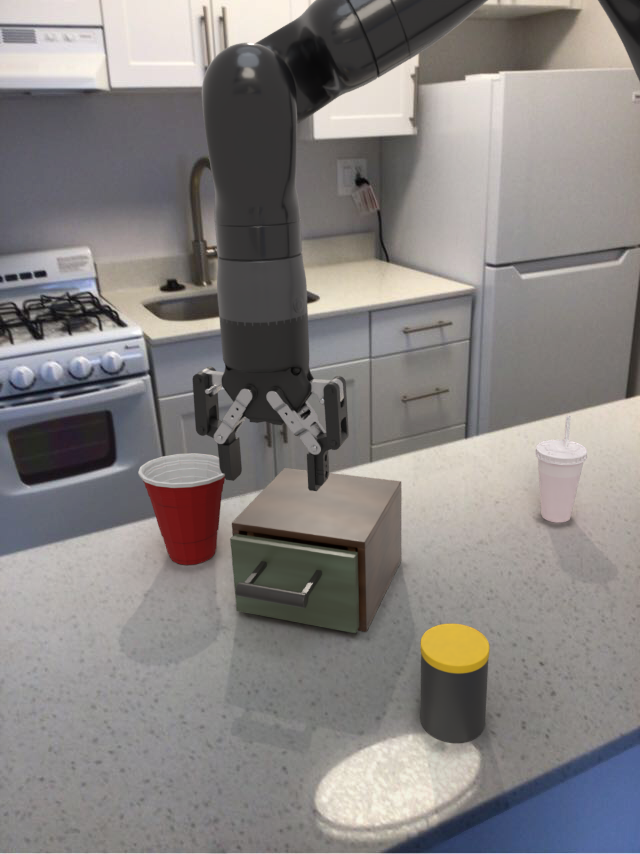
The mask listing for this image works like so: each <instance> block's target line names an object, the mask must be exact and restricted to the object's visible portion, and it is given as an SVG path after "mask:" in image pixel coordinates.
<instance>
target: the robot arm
mask: <svg viewBox="0 0 640 854" xmlns="http://www.w3.org/2000/svg"><path fill="white" fill-rule="evenodd" d="M488 1H489V0H314V1H313V2H312V3H311V4H309V6H308V7H307V8H306V9H305V11H304V12H303V13H302V14H300V15H299V16H298V17H297V18H296V19H294V20H292V21H290V22H289V23H287V24H285V25H283V26H281V27H280V28H279V29H277V30H275V31H273V32H272V33H269V34H268V35H267V36H265V37H263V38H261V39H260V40H258V41H257V42H239V43H234V44H232V45H230V46H228V47H226V48H224V49H222V50H221V51H219V53H218V54H216V56H215V57H214V58H213V59H212V60H211V62H210V63H209V64H208V66H207V68H206V71H205V73H204V76H203V79H202V86H201V106H202V118H203V126H204V133H205V142H206V147H207V153H208V160H209V166H210V172H211V177H212V182H213V189H214V197H213V198H214V204H213V205H214V209H213V215H214V217H213V219H214V227H215V228H214V230H215V241H216V242H215V243H216V254H217V272H216V273H217V275H216V294H217V297H216V304H217V308H218V317H219V329H220V342H221V354H222V362H223V363H224V371H219V370H217V369H216V368H214V367H213V366H207V367H205V368H203V369H201V370H200V371H198V372H197V373H195V374H194V375H193V376H192V393H193V394H192V395H193V410H194V423H195V432H196V433H197V434H198V435H199V436H202V437H205V436H208V437H210V438H212V439H213V440H214V441H215V443H216V444H217V454H218V455H217V456H218V457H219V466H220V470H221V472H222V474H225V481H230V482H231V481H232V482H234V481H235V480H237V479H238V478H239V476H241V474H242V471H243V465H242V453H241V442H240V441H241V440H240V437H239V436H236V434H237V432H238V431H239V429H240V428H241V427H242V425H243V424H244V422H245V420H246V419H248V420H249V423H256V424H259V423H269V424H271V425H275V426H283V425H284V424H285V425H286V426H287V428H288V429H289V430H290V432H291V434H293V436H296V437H298V438H299V439H300V441H301V442H302V443H303V445H304V446H305V448H306V450H307V451H308V452H307V453H306V470H307V473H308V489H309V490H310V491H318V489H319V488H320V487H321V486H322V485H323V484H324V483H325V482H326V480H327V479H328V476H329V473H330V465H329V464H330V461H329V460H330V458H329V451H330V450H332V451H337V450H339V449H340V447H341V446H342V445H343V444H344V443H345V442H346V441H347V439H348V438H349V435H350V433H349V431H350V430H349V417H348V416H349V414H348V399H347V397H348V396H347V382H346V379H345V378H344V377H343V376H341V375H336V376H335V377H333V378H332V379H321V378H320V379H319V378H315V377H314V376H313V374H312V372H311V370H310V340H309V339H310V338H309V337H310V335H309V310H308V309H309V308H308V287H307V277H306V276H307V275H306V271H305V265H304V259H303V253H302V252H303V240H302V239H303V238H302V237H303V236H302V220H301V218H302V216H301V206H300V199H299V193H298V187H297V165H298V164H297V163H298V162H297V160H298V125H299V124H300V123H301V122H304V121H306V119H308V118H309V117H311V116H312V115H314V114H316V113H317V112H318V111H320V110H321V109H323V108H324V107H326V106H327V105H329V104H330V103H332V102H333V101H335V100H336V99H337V98H340V97H341V96H343V95H345V94H347V93H349V92H352V91H355V90H357V89H359V88H362V87H364V86H366V85H369V84H370V83H372V82H374V81H376V80H377V79H378V78H381V77H383V76H384V75H386V74H387V73H389V72H391V71H393V70H394V69H396V68H397V67H399V66H402V64H404V63H406V62H408V61H409V60H411V59H412V58H414V57H416V56H418V55H419V54H421V53H422V52H424V51H425V50H427V49H428V48H430V47H431V46H433V45H435V44H436V43H438V41H440V40H441V39H443V38H444V37H446V36H447V35H448V34H450V33H451V32H452V31H453V30H454V29H456V28H457V27H459V26H460V25H461V24H462V23H464V21H466V20H467V19H468V18H469V17H471V16H472V15H473V14H474V13H475V12H476V11H477V10H479V9H480V8H481V7H482V6H483V5H484V4H486V3H487V2H488ZM597 1H598V3H599V5H600V6H601V8H602V10H603V11H604V13H605V14H606V16H607V18H608V20H609V21H610V23H611V24H612V26H613V28H614V29H615V32H616V34H617V36H618V37H619V39H620V41H621V43H622V45H623V47H624V49H625V52H626V54H627V56H628V58H629V60H630V63H631V66H632V68H633V71H634V72H635V75H636V77H637V80H638V82H639V83H640V0H597ZM222 388H223V390H224V391H225V392H226V394H227V395H228V396H229V398H230V399H231V401H232V402H233V403H232V405H230V407H229V408H228V410H227V412H226V414H225V415H224V417H223V418H222V419H220V407H219V392H221V390H222ZM312 394H314V395H315V396H317V400H318V402H319V404H320V405H322V406H324V419H325V420H324V421H325V428H324V426H323V425H322V424H321V422H320V421H319V416H318V414H317V412H316V411H315V409H314V408H313V406H312V405H311V404H310V402H309V401H308V399H309V398H310V397H311V395H312Z"/></svg>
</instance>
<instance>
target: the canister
mask: <svg viewBox="0 0 640 854" xmlns="http://www.w3.org/2000/svg"><path fill="white" fill-rule="evenodd" d="M489 642H490V641H488V639H487V637H486V636H485V635H484V634H483V633H482V632H480V631H479V630H477V629H476V628H474V627H471V626H469V625H466V624H461V623H453V622H451V623H441V624H437V625H435V626H432V627H430V628H429V629H427V630H426V631H425V632H424V633H423V634H422V636H421V638H420V647H419V648H420V689H419V690H420V695H419V699H420V701H419V703H420V704H419V706H420V707H419V719H420V720H419V721H420V723H421V725H422V728H423V729H424V730H425V731H426V733H428V734H429V735H430V736H431V737H433V738H434V739H437V740H439V741H441V742H445V743H450V744H462V743H463V744H464V743H468V742H471V741H473V740H475V739H476V738H478V737H480V736H481V734H482V733H483V732H484V729H485V727H486V717H487V716H486V713H487V697H488V696H487V695H488V678H489V677H488V675H489V660H490V659H489V658H490V651H491V650H490V647H491V645H490V643H489Z"/></svg>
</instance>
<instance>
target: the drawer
mask: <svg viewBox="0 0 640 854" xmlns="http://www.w3.org/2000/svg"><path fill="white" fill-rule="evenodd" d="M229 542H230V552H231V563H232V574H233V585H234V595H235V607H236V612H240V613H247V614H250V615H255V616H261V617H267V618H270V619H271V618H272V619H278V620H281V621H282V620H283V621H287V622H293V623H298V624H305V625H309V626H314V627H319V628H324V629H325V628H326V629H330V630H336V631H342V632H345V633H346V632H347V633H352V634H357V633H358V631H359V630H358V628H359V588H358V548H354V547H348V546H341V545H334V544H328V543H321V542H314V541H307V540H301V539H294V538H287V537H280V536H274V535H267V534H260V533H254V532H247V535H240V534H234V535H233V534H232V536H231V537H230V538H229Z"/></svg>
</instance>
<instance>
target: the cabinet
mask: <svg viewBox="0 0 640 854" xmlns="http://www.w3.org/2000/svg"><path fill="white" fill-rule="evenodd" d="M231 532H232V536H233V535H234V534H240V535H247V532H254V533H260V534H267V535H274V536H280V537H287V538H294V539H301V540H307V541H314V542H321V543H328V544H334V545H341V546H348V547H354V548H358V588H359V628H358V630H357V631H358V632H359V631H360V632H364V633H367V632H368V630H369V628H370V626H371V624H372V621H373V619H374V617H375V616H376V613H377V612H378V611H379V607H380V605H381V604H382V602H383V600H384V597H385V595H386V594H387V591H388V589H389V587H390V585H391V582H392V581H393V579H394V576H395V575H396V572H397V571H398V568H399V566H400V564H401V562H402V480H394V479H386V478H375V477H367V476H359V475H351V474H344V473H343V474H342V473H334V472H329V476H328V479H327V480H326V482H325V483H324V484H323V485H322V486H321V487H320V488H319V489H318V491H310V490H309V489H308V473H307V469H299V468H289V467H283V468H282V470H281V471H279V473H278V474H277V475H276V476H275V477H274V478H273V479H272V480H271V481H270V482H269V483H268V484H267V485H266V486H265V487H264V489H262V491H260V493H259V494H258V495H257V496H256V497H255V498H254V499H253V500H252V501H251V502H250V503H249V504H248V505H247V506H246V507H245V508H244V509H243V510H242V511H241V513H239V515H238V516H236V518H235V519H234V520H233V521H232V522H231Z"/></svg>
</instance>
